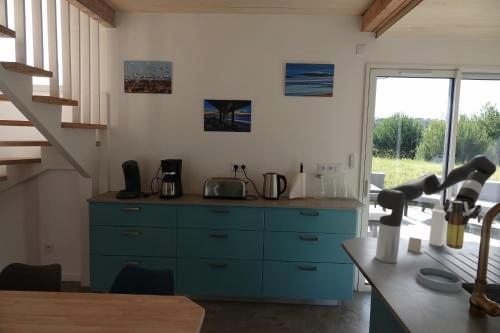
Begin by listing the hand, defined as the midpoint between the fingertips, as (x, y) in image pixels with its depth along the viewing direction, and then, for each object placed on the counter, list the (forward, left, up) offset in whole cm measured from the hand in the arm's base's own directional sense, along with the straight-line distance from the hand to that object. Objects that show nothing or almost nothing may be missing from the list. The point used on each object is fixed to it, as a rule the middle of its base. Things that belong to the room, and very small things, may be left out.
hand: (454, 221), depth 141 cm
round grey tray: (+8, -11, -23) cm, 27 cm away
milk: (-40, +22, -23) cm, 51 cm away
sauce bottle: (-1, +2, -11) cm, 12 cm away
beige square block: (-29, +2, -24) cm, 37 cm away
